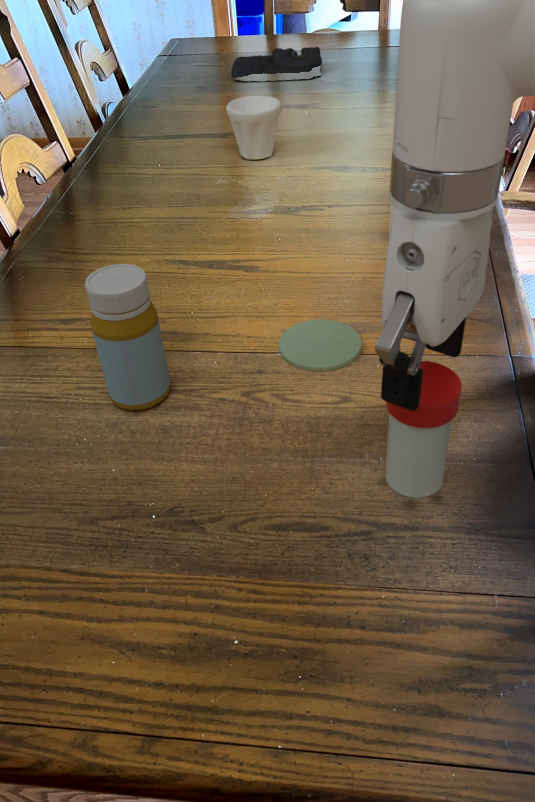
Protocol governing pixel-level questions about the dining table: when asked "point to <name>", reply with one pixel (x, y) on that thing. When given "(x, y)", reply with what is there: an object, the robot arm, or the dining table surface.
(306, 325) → the coaster
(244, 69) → the black sneaker
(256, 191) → the dining table surface
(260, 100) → the cup
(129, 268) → the bottle
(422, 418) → the cap
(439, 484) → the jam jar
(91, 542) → the dining table surface
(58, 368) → the dining table surface
